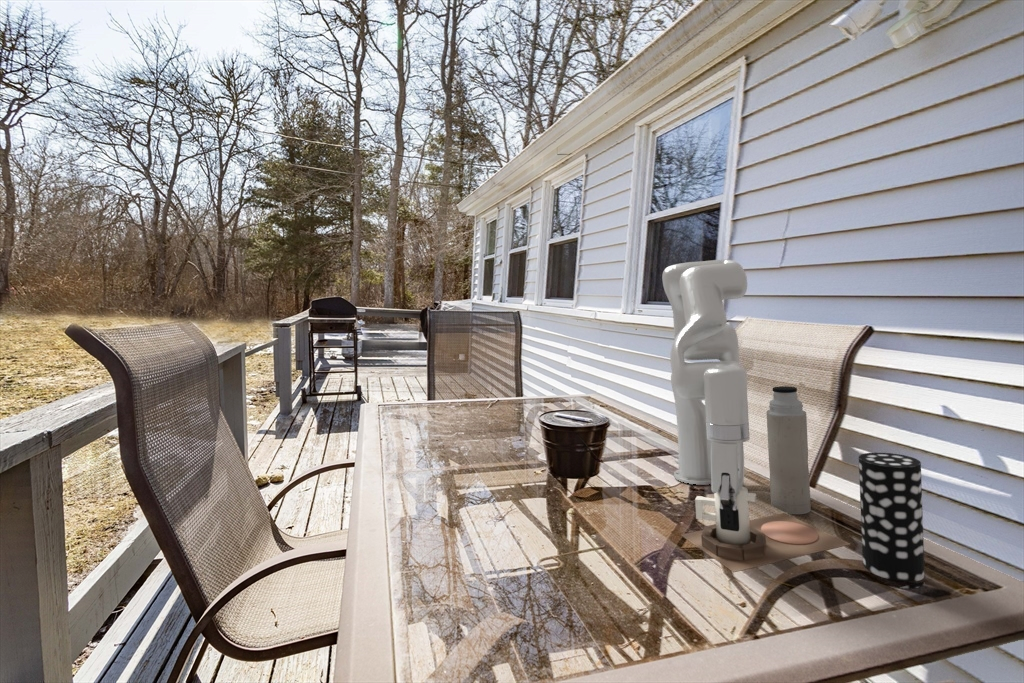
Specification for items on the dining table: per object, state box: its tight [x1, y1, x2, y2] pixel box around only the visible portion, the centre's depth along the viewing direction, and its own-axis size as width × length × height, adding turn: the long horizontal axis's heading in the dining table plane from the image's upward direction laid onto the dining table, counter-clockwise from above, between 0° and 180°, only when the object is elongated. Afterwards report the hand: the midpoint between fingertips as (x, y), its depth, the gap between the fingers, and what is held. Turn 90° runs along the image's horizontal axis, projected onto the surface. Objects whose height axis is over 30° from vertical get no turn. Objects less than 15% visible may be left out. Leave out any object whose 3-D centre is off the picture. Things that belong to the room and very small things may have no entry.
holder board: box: [680, 512, 851, 573], centre depth 97 cm, size 16×26×3 cm, turn 105°
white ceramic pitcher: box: [694, 486, 757, 546], centre depth 96 cm, size 11×6×10 cm, turn 59°
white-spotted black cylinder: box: [858, 452, 926, 590], centre depth 83 cm, size 8×8×20 cm
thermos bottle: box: [766, 385, 812, 515], centre depth 113 cm, size 8×8×28 cm
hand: (732, 521), depth 96 cm, fingers closed on white ceramic pitcher, 6 cm apart
